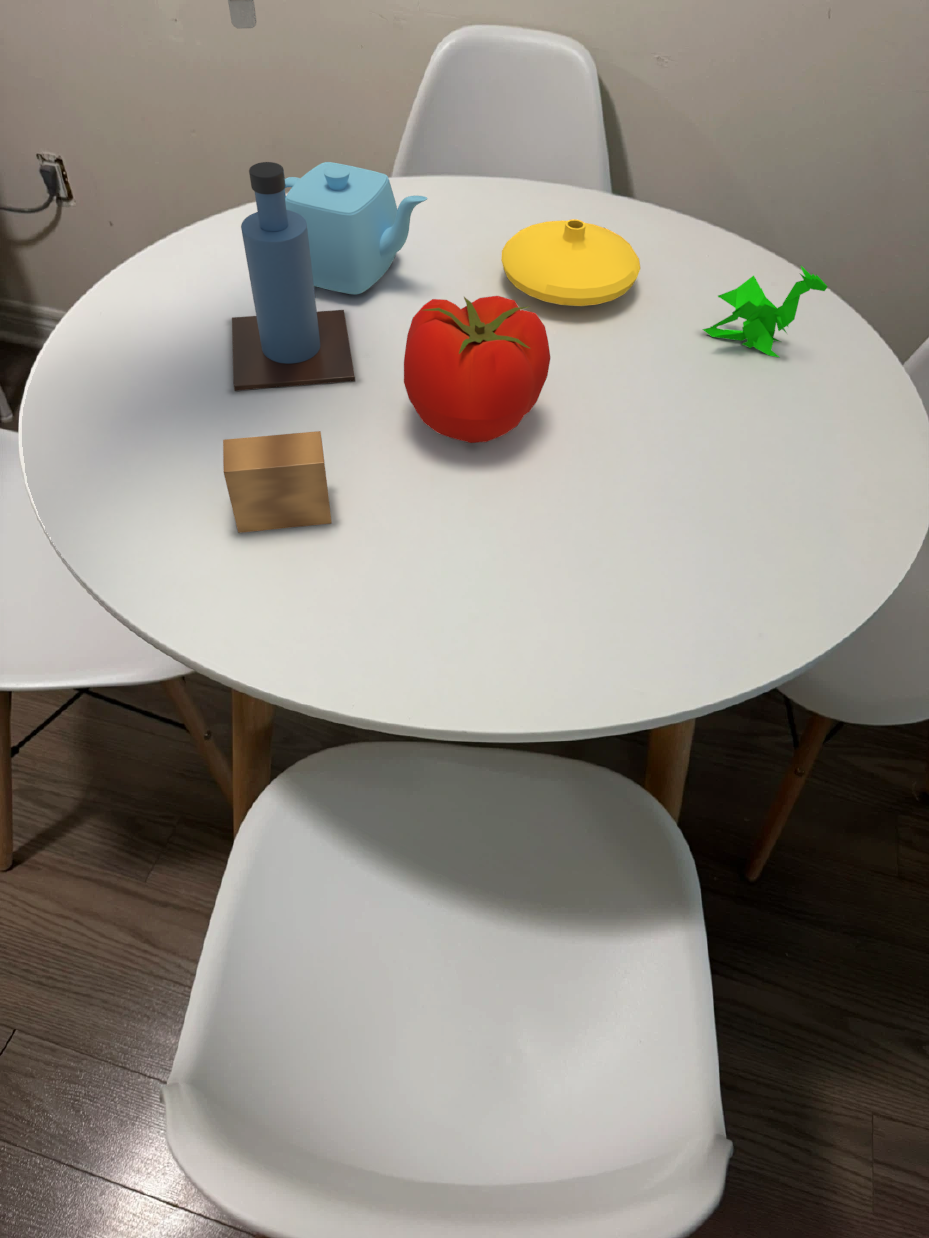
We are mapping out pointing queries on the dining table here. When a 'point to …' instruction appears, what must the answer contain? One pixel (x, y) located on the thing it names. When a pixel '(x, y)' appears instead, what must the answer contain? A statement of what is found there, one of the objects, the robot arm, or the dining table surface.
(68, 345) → the dining table surface
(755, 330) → the figurine
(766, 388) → the dining table surface
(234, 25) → the robot arm
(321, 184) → the teapot
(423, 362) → the tomato
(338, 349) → the coaster
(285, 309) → the bottle
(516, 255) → the vase
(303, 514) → the prop block
